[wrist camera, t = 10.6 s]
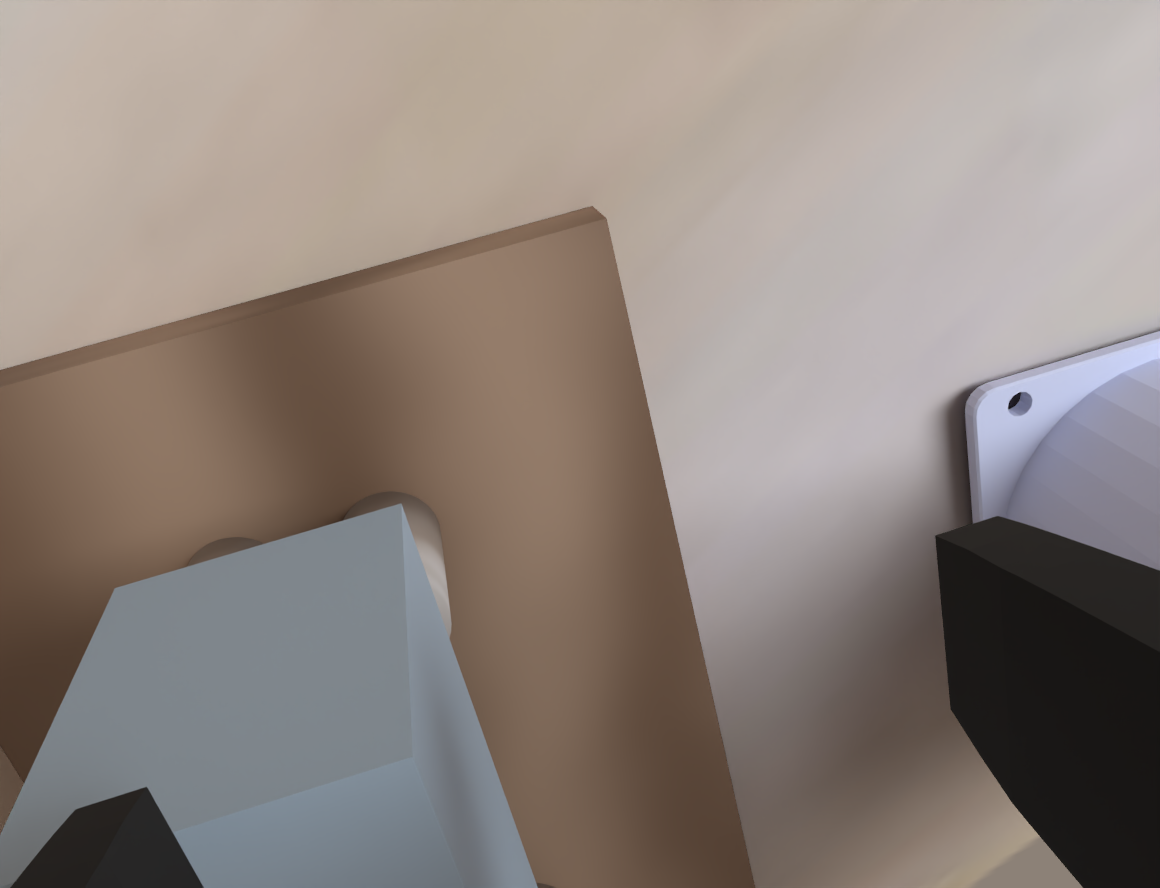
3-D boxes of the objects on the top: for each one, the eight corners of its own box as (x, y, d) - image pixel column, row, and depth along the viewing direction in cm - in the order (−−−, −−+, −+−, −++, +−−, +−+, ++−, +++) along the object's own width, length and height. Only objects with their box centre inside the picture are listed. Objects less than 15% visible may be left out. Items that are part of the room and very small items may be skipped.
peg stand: (592, 205, 18) (651, 257, 14) (756, 932, 26) (823, 1091, 22) (-154, 412, 17) (-313, 529, 13) (259, 1099, 25) (238, 1297, 21)
